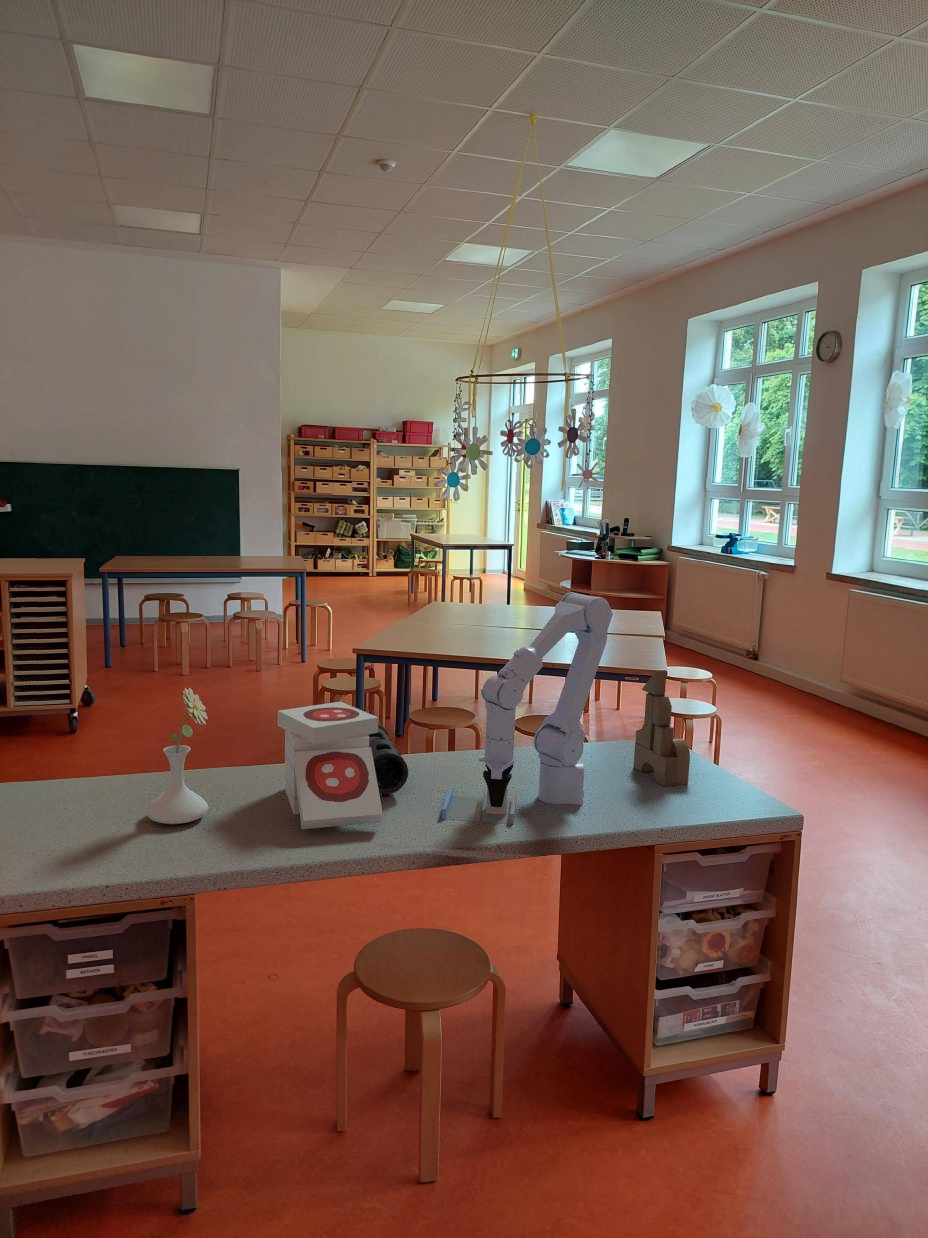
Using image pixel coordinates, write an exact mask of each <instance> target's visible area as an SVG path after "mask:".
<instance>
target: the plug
mask: <svg viewBox="0 0 928 1238" xmlns="http://www.w3.org/2000/svg"><path fill="white" fill-rule="evenodd" d="M486 798H487V803H486V813H490V814H504V815H506V813H507V803H508V800H509V799H508V798H509V784H508V785H507V787H506V791H505V795H504V800H503V804H502V807H492V806H491V804H490V798H489V791H488V787H487V786H486Z"/></svg>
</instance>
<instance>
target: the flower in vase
mask: <svg viewBox="0 0 928 1238" xmlns="http://www.w3.org/2000/svg"><path fill="white" fill-rule="evenodd" d="M193 691H194V690H192V688H191V687H188V689H187V688H184V690H183V692H182V693H183V695H182V698H183V700H182V701H183V704H184V705H185V709H186V710H187V711H186V712H185V714H184V717H183V719H182V721H181V724H180V729H179V732H178V733H179V734H178V735H176V734H174V733H173V734H172V735H171V737H170V738H169V739H168V741H170V742H177V744H176V745H175V744H174V745H169V746H166V747H164V748H163V749H162V751H163V752H162V753H164V754H165V755H166V757H167V759H168V763H169V766H170V767H169V768H170V785H169V786H168V788H167V789H166V790H165V791H164V792H163V793H161V794H159V796H157V797H156V798H155V799H154V800H153V801H152V802H151V803H150V804H149V805H148V806H147V809H146V812H145V814H146V816H147V817H148V818H149V820H151V821H153V822H155V823H158V824H159V823H160V824H167V825H178V824H179V825H180V824H185V823H190V822H194V821H197V820H199V819H201V818H203V817H204V816H205V815H206V814H207V813H208V812H209V804H208V803H207V801H206V800H205V799H204V798H203V797H201V796H200V795H199V794H197V793H196V792H194V791H192V790H191V789H189V788H188V787H187V786H186V783H185V781H184V780H185V779H184V767H185V766H184V765H185V761H186V758H187V755H188V754H189V752H190V751H191V747H190V746H188V745H183V744H180V741H181V740H183V738H184V736H185V737H186V738H190V737H192V736H193V728H192V727H191V726H190V725H188V724H184V723H185V722H186V718H187V716H188V715H189V716H190V717H191V719H192V720H193V721H194V723H195V724H196V725H200V726H204V725H207V723H206V721H205V720H207V721H208V719H209V718H208V715H207V712H205V711H206V706H205V705H204V704H203V702H202V700H200V696H199V694H194V692H193ZM182 735H184V736H182Z"/></svg>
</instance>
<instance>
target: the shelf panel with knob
mask: <svg viewBox="0 0 928 1238" xmlns="http://www.w3.org/2000/svg"><path fill="white" fill-rule="evenodd" d="M454 787H455V786H453V785H452V786H451V785H450V786H449V787H448V791H447V794H446V796H445V799H444V802H443V805H442V807H441V820H452V821H463V822H464V821H465V822H482V823H490V824H491V823H492V824H493V823H494V824H507V825H514V824H515V817H516V809H517V801H518V800H517V799H518V790H513V791H512V798H511V799H508V803H507V813H506V815H504V814H490V813H486V803H487V797H486V788H480V793H479V797H478V796H477V797H475V796H463V795H462V796H461V795H454V792H455V789H454Z"/></svg>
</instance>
